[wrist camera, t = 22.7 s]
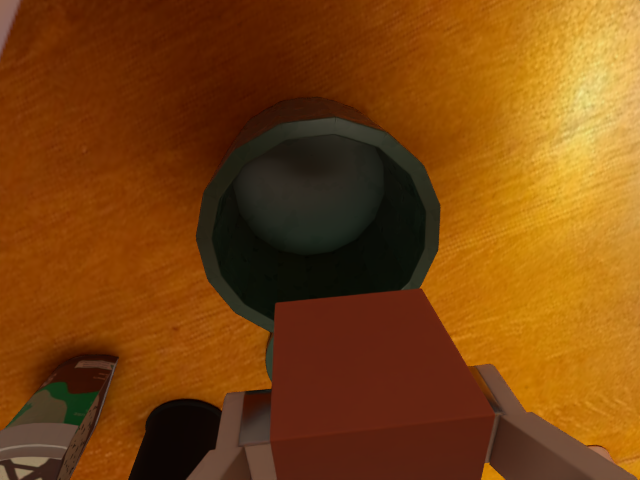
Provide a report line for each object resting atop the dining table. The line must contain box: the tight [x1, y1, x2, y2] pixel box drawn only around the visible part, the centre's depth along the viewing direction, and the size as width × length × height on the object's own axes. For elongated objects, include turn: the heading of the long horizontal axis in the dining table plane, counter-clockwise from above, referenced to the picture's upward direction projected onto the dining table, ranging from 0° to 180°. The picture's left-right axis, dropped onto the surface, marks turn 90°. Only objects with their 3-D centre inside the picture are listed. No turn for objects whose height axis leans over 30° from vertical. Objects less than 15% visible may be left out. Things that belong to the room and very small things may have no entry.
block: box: [270, 288, 495, 480], centre depth 10 cm, size 4×4×4 cm
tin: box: [196, 97, 440, 333], centre depth 24 cm, size 13×13×10 cm
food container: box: [0, 355, 119, 480], centre depth 30 cm, size 12×6×10 cm, turn 154°
